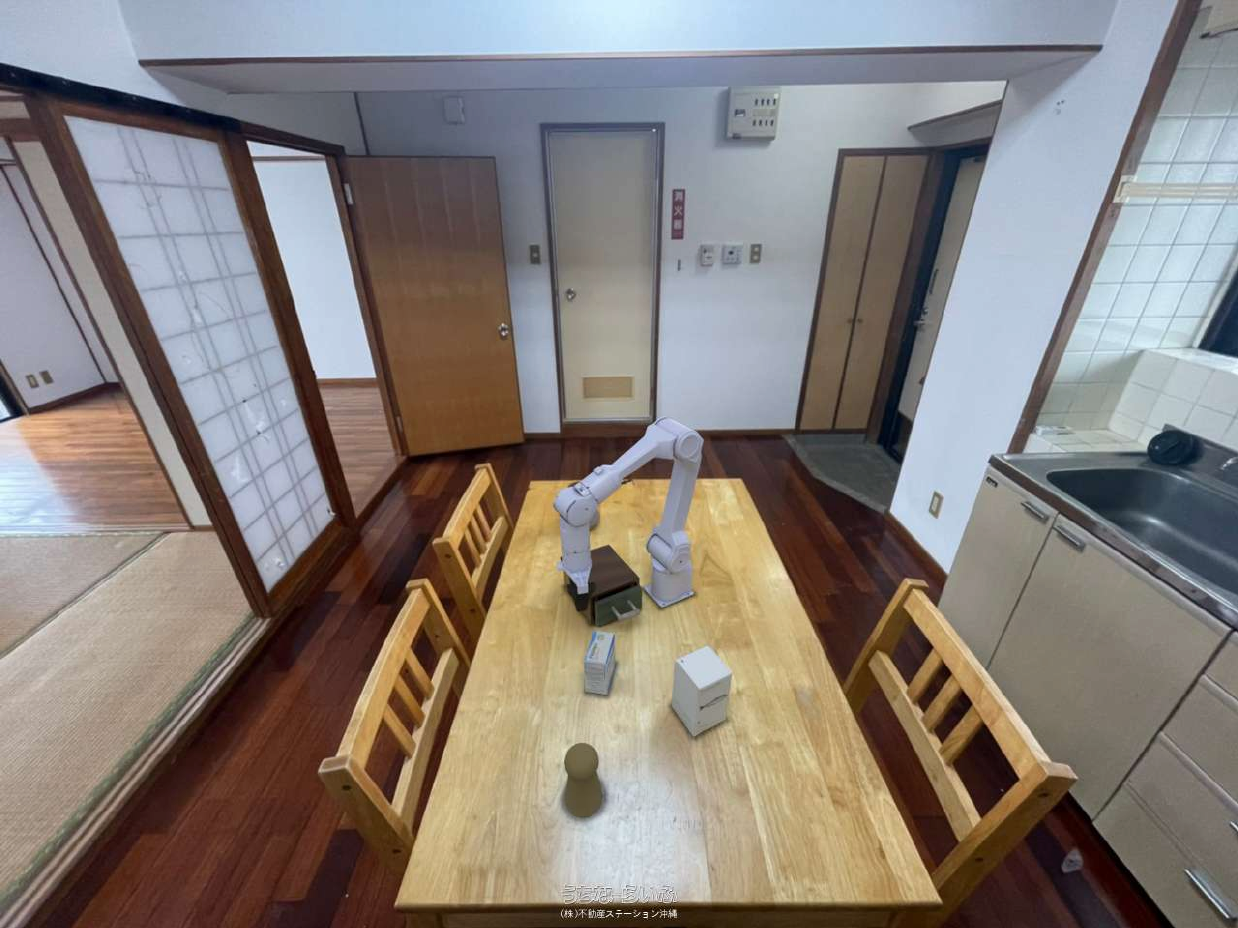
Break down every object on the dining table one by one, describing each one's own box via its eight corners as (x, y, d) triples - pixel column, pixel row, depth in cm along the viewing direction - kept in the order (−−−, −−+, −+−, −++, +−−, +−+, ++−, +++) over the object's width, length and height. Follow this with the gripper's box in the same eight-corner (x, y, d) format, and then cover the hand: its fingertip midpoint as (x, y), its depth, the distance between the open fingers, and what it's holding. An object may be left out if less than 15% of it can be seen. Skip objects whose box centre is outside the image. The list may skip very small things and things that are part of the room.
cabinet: (639, 604, 121) (639, 577, 117) (591, 624, 115) (589, 597, 111) (609, 569, 132) (608, 544, 128) (564, 586, 126) (562, 560, 123)
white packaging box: (693, 738, 91) (698, 690, 85) (670, 706, 97) (673, 658, 91) (727, 721, 94) (733, 672, 88) (703, 690, 100) (707, 643, 94)
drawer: (652, 621, 115) (653, 599, 112) (607, 640, 110) (607, 618, 107) (613, 575, 129) (613, 555, 126) (572, 590, 124) (570, 570, 121)
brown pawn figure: (564, 780, 85) (560, 737, 80) (601, 776, 85) (600, 734, 80) (564, 819, 79) (560, 776, 74) (603, 815, 80) (602, 772, 75)
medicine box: (607, 696, 99) (606, 664, 95) (584, 692, 100) (583, 660, 95) (615, 663, 106) (615, 632, 102) (594, 660, 106) (593, 629, 102)
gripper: (551, 526, 108) (555, 577, 114) (560, 570, 95) (564, 625, 101) (584, 522, 109) (587, 572, 115) (598, 564, 96) (599, 618, 103)
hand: (578, 597), depth 108 cm, fingers open, 7 cm apart
